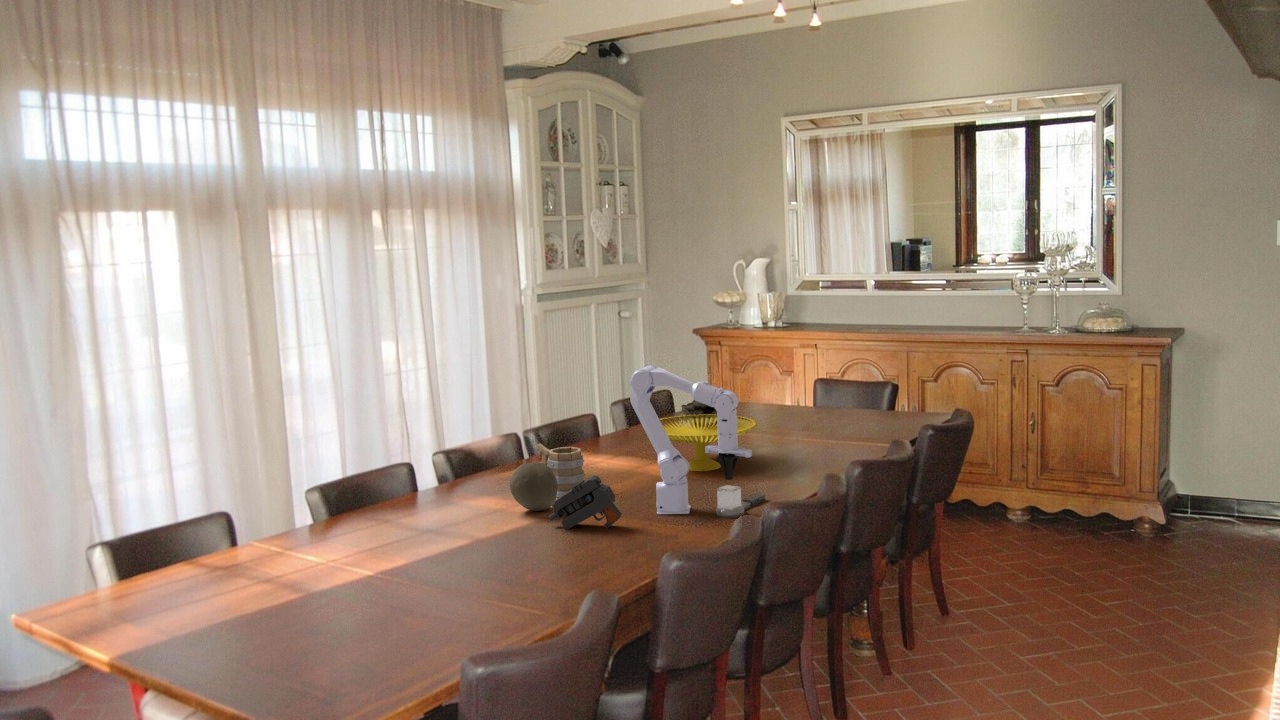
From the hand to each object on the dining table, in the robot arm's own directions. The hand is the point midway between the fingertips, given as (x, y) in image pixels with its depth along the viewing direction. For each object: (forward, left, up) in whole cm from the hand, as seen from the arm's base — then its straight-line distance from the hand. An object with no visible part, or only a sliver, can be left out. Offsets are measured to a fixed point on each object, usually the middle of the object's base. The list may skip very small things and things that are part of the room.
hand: (729, 479), depth 299 cm
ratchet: (+4, +6, -10) cm, 13 cm away
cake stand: (-11, +61, -11) cm, 63 cm away
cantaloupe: (-59, +6, -11) cm, 60 cm away
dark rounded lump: (-13, +124, -11) cm, 125 cm away
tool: (-41, -11, -11) cm, 44 cm away
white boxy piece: (0, 0, -8) cm, 8 cm away
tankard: (-56, +30, -11) cm, 64 cm away
